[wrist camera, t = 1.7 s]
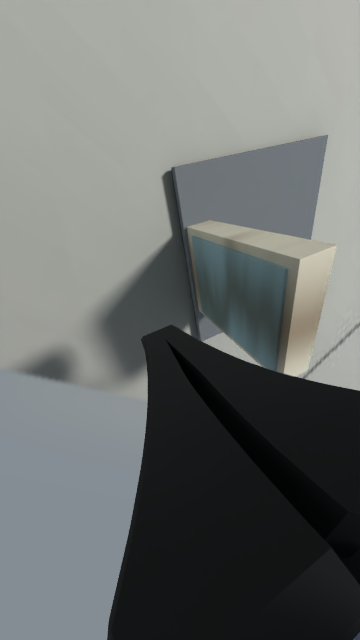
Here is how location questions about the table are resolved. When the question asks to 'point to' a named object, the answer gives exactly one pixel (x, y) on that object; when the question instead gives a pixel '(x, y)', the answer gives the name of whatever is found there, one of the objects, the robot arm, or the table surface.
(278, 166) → the rubber mat
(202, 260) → the birch framed mirror
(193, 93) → the table surface
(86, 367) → the table surface
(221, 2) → the table surface
